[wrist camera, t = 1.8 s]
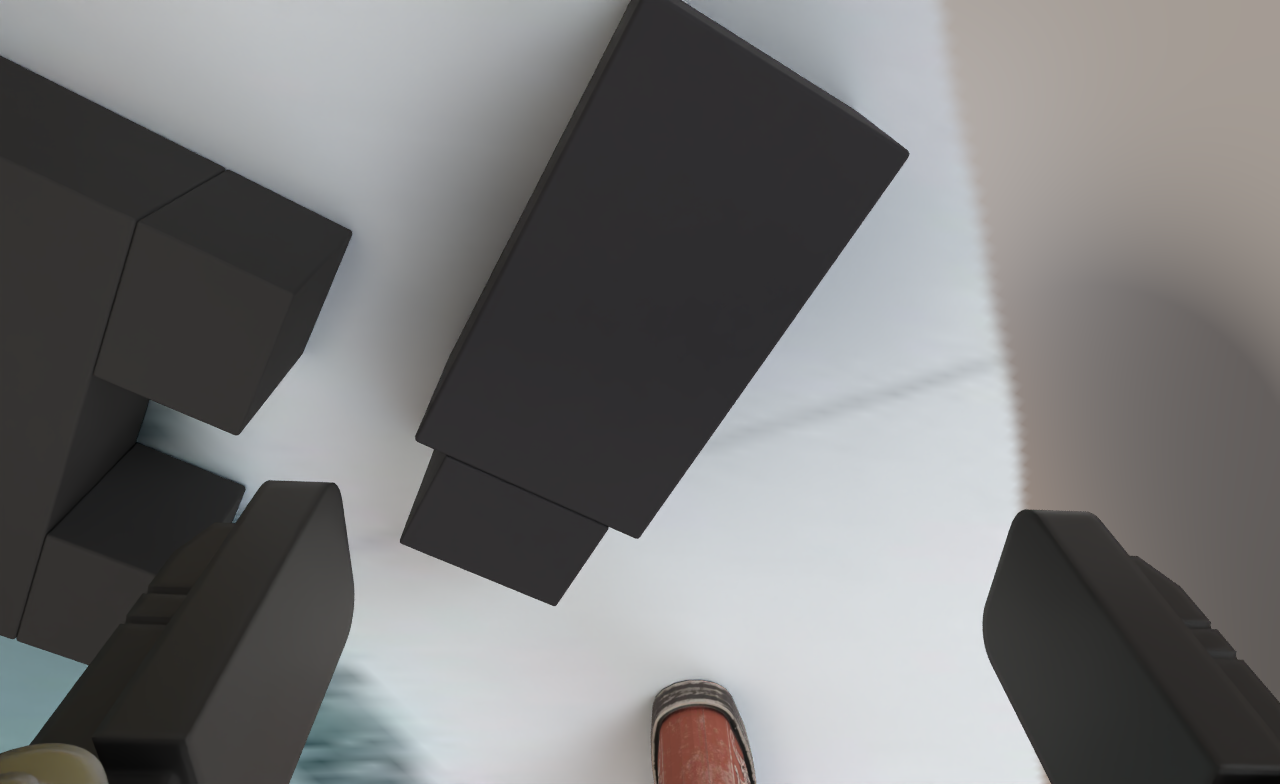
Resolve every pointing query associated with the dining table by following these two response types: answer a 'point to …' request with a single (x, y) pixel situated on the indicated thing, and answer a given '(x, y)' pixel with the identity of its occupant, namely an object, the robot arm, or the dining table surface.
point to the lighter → (699, 737)
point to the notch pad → (127, 348)
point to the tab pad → (637, 295)
